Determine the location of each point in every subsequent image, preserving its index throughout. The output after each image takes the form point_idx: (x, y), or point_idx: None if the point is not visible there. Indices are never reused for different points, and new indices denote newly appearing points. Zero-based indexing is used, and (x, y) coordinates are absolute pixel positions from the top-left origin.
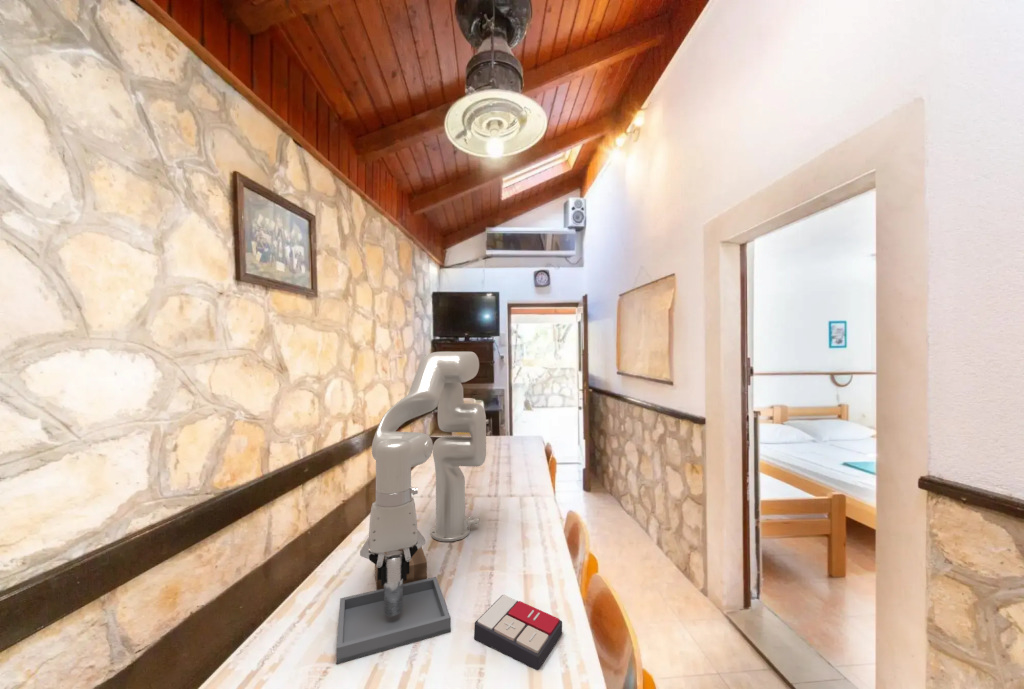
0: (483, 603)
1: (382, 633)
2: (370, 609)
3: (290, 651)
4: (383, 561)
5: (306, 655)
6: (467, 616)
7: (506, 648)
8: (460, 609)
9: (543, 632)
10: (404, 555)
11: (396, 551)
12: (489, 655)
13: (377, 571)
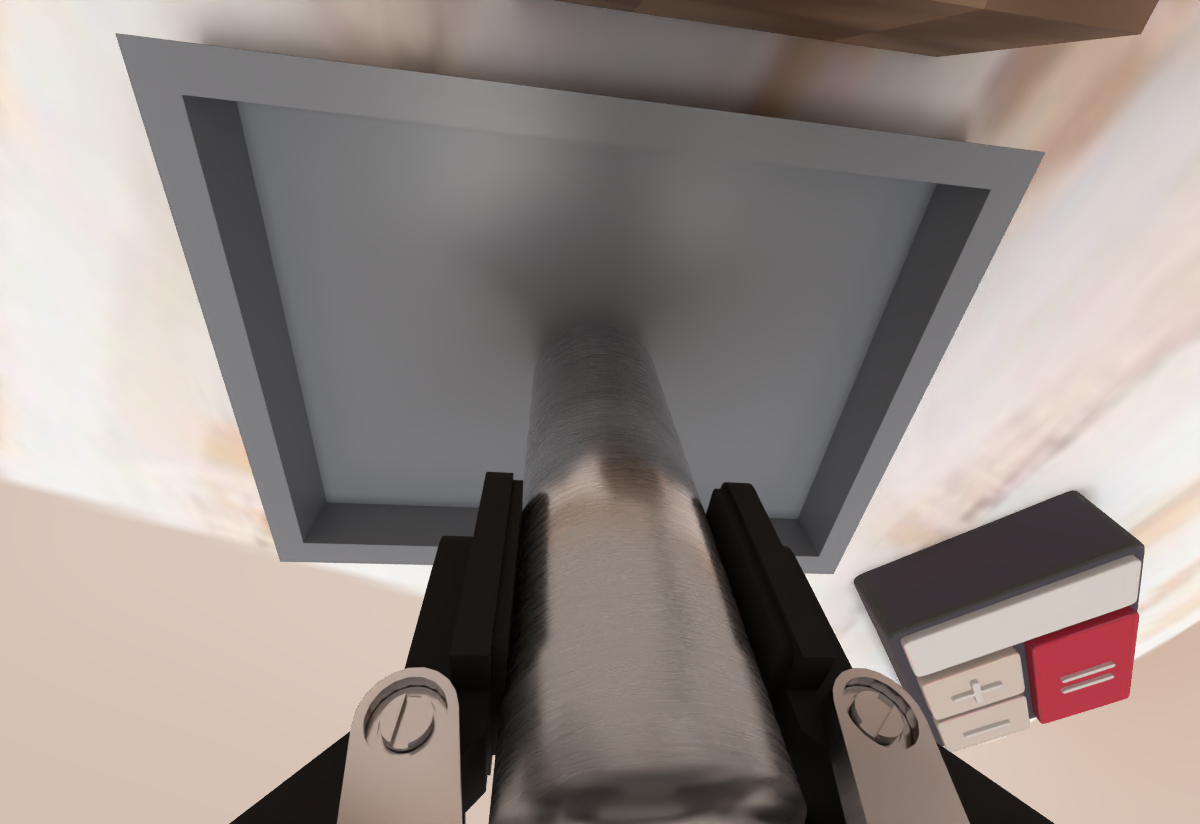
0: (1052, 424)
1: None
2: (452, 206)
3: (2, 338)
4: (485, 769)
5: (129, 404)
6: (923, 472)
7: (900, 677)
8: (934, 417)
9: (1033, 707)
10: (808, 769)
11: (730, 786)
12: (846, 641)
13: (429, 586)
